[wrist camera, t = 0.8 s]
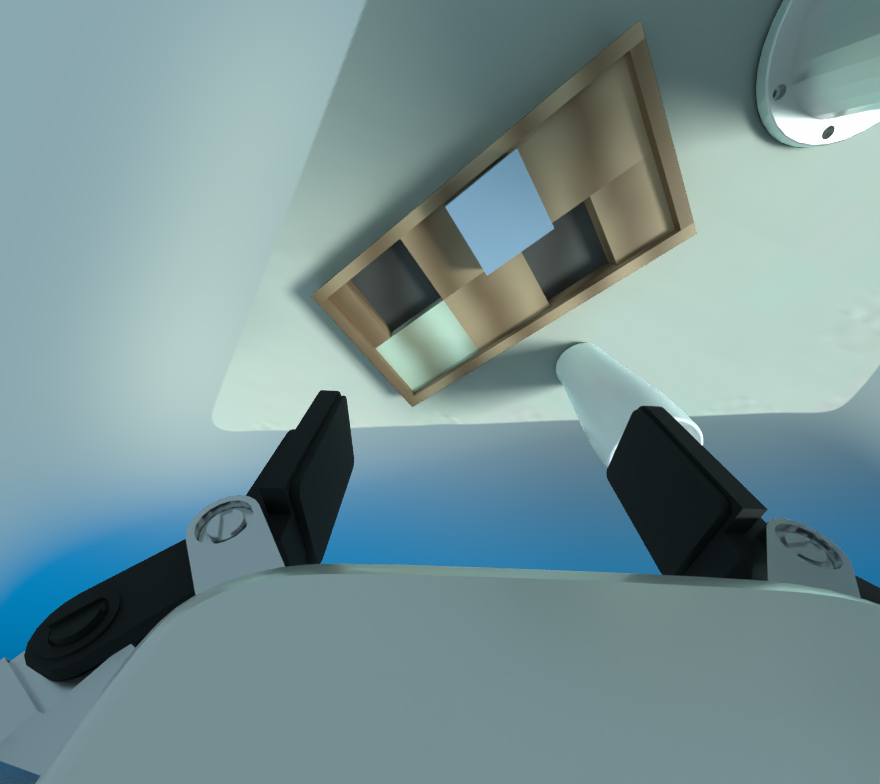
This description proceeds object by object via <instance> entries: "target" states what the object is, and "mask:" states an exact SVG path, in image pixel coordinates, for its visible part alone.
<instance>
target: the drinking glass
mask: <svg viewBox="0 0 880 784" xmlns="http://www.w3.org/2000/svg"><path fill="white" fill-rule="evenodd" d="M556 374H557V377H558V379H559V380H560V382H561V383H562V385H563V387H564V389H565V391H566V393H567V395H568V397H569V399H570V402H571V404H572V406H573V408H574V410H575V412H576V415H577V417H578V419H579V421H580V423H581V425H582V427H583V430H584V432H585V434H586V436H587V438H588V440H589V441H590V443H591V445H592V447H593V448H594V450H595V452H596V453H597V455H598V456H599V458H600V459H601V461H602V462H603V463H604V465H605V466H606V468H608V466H609V464H610V461H611V459H612V457H613V455H614V452H615V450H616V448H617V446H618V443H619V441H620V439H621V437H622V434H623V432H624V430H625V428H626V425H627V423H628V421H629V419H630V416H631V414H632V412H633V411H634V410H637V409H638V408H639V407H640V406H660V407H663V408H664V409H665V410H666V411H667V412H669V413H670V414H671V415H672V416H673V417H674V418H675V419H676V420H677V421H678V422H679V423H680V424H681V425H682V426H683V427H684V428H685V429H686V430H687V431H688V432H689V433H690V434H691V435H692V436H693V437H694V438H695V439H696V440H697V441H698V442H699V443H700V444H701V445H702V446H703V435H702V432H701V430H700V428H699V427H698V426H697V425H696V424H695V423H694V422H693V421H692V420H691V419H690V418H689V417H688V416H687V415H686V414H685V413H684V412H683V411H682V410H681V409H680V408H679V407H678V406H677V405H676V404H674V403H673V402H672V401H671V400H670V399H669V398H667V397H666V396H665V395H664V394H663V393H661V392H660V391H659V390H657V389H656V388H654V387H653V386H652V385H650V384H649V383H647V382H646V381H644V380H643V379H642V378H640V377H639V376H637V375H636V374H634V373H633V372H631V371H630V370H628V369H627V368H626V367H624V366H623V365H621V364H620V363H618V362H617V361H616V360H614V359H613V358H611V357H610V356H609V355H607V354H606V353H605V352H604V351H603V350H602V349H600V348H599V347H598V346H596V345H594V344H590V343H580V344H576V345H574V346H571V347H570V348H568V349H567V350H565V351H564V352H563V353H562V354H561V356H560V357H559V359H558V361H557V364H556Z"/></svg>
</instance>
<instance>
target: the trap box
mask: <svg viewBox="0 0 880 784" xmlns="http://www.w3.org/2000/svg"><path fill="white" fill-rule="evenodd" d="M516 149H517V150H518V152H519V154H520V156H521V158H522V160H523V162H524V165H525V167H526V169H527V171H528V173H529V175H530V177H531V179H532V182H533V184H534V186H535V188H536V190H537V192H538V194H539V197H540V199H541V201H542V203H543V205H544V207H545V209H546V212H547V214H548V216H549V218H550V220H551V222H552V224H553V226H554V229H553V230H552V231H550V232H549V233H547V234H546V235H545V236H543V237H542V238H540V239H539V240H537V241H536V242H535V243H533V244H532V245H530V246H529V247H527V248H526V249H525V250H523V251H522V252H520V253H519V254H517V255H516V256H515V257H513V258H512V259H510V260H509V261H508V262H506V263H505V264H503V265H502V266H500V267H499V268H498V269H496V270H495V271H493V272H492V273H490V274H489V275H488V276H487V275H486V273H485V272H484V270H483V268H482V267H481V265H480V264H479V262H478V260H477V259H476V257H475V255H474V254H473V252H472V250H471V249H470V247H469V245H468V244H467V242H466V240H465V239H464V237H463V236H462V234H461V232H460V231H459V229H458V227H457V226H456V224H455V222H454V221H453V219H452V217H451V216H450V214H449V212H448V211H447V209H446V208H445V205H447V204H448V203H449V202H450V201H452V200H453V199H454V198H455V197H456V196H458V195H459V194H460V193H461V192H463V191H464V190H465V189H466V188H467V187H469V186H470V185H471V184H472V183H474V182H475V181H476V180H477V179H479V178H480V177H481V176H482V175H483V174H485V173H486V172H487V171H488V170H490V169H491V168H492V167H493V166H494V165H496V164H497V163H498V162H499V161H501V160H502V159H503V158H504V157H506V156H507V155H508V154H509V153H511V152H512V151H514V150H516ZM695 234H697V232H696V228H695V225H694V221H693V217H692V213H691V209H690V206H689V202H688V198H687V194H686V191H685V187H684V183H683V179H682V175H681V172H680V168H679V164H678V160H677V156H676V153H675V149H674V145H673V141H672V137H671V134H670V130H669V126H668V122H667V119H666V115H665V111H664V107H663V103H662V100H661V96H660V92H659V88H658V84H657V81H656V77H655V73H654V69H653V65H652V62H651V58H650V54H649V50H648V47H647V43H646V39H645V35H644V31H643V28H642V24H641V20H639V21H638V22H636V23H635V24H634V25H633V26H632V27H631V28H629V29H628V30H627V31H626V32H625V33H623V34H622V35H621V36H620V37H619V38H617V39H616V40H615V41H614V42H613V43H612V44H610V45H609V46H608V47H607V48H606V49H604V50H603V51H602V52H601V53H600V54H598V55H597V56H596V57H595V58H594V59H592V60H591V61H590V62H589V63H588V64H587V65H585V66H584V67H583V68H582V69H581V70H579V71H578V72H577V73H576V74H575V75H573V76H572V77H571V78H570V79H569V80H567V81H566V82H565V83H564V84H563V85H562V86H560V87H559V88H558V89H557V90H556V91H554V92H553V93H552V94H551V95H550V96H548V97H547V98H546V99H545V100H544V101H543V102H541V103H540V104H539V105H538V106H537V107H535V108H534V109H533V110H532V111H531V112H529V113H528V114H527V115H526V116H525V117H523V118H522V119H521V120H520V121H519V122H518V123H516V124H515V125H514V126H513V127H512V128H510V129H509V130H508V131H507V132H506V133H504V134H503V135H502V136H501V137H500V138H498V139H497V140H496V141H495V142H494V143H493V144H491V145H490V146H489V147H488V148H487V149H485V150H484V151H483V152H482V153H481V154H479V155H478V156H477V157H476V158H475V159H474V160H472V161H471V162H470V163H469V164H468V165H466V166H465V167H464V168H463V169H462V170H460V171H459V172H458V173H457V174H456V175H454V176H453V177H452V178H451V179H450V180H449V181H447V182H446V183H445V184H444V185H443V186H441V187H440V188H439V189H438V190H437V191H435V192H434V193H433V194H432V195H431V196H429V197H428V198H427V199H426V200H425V201H424V202H422V203H421V204H420V205H419V206H418V207H416V208H415V209H414V210H413V211H412V212H410V213H409V214H408V215H407V216H406V217H405V218H403V219H402V220H401V221H400V222H399V223H397V224H396V225H395V226H394V227H393V228H391V229H390V230H389V231H388V232H387V233H385V234H384V235H383V236H382V237H381V238H380V239H378V240H377V241H376V242H375V243H374V244H372V245H371V246H370V247H369V248H368V249H366V250H365V251H364V252H363V253H362V254H361V255H359V256H358V257H357V258H356V259H355V260H353V261H352V262H351V263H350V264H349V265H347V266H346V267H345V268H344V269H343V270H341V271H340V272H339V273H338V274H337V275H336V276H334V277H333V278H332V279H331V280H330V281H328V282H327V283H326V284H325V285H324V286H322V287H321V288H320V289H319V290H318V291H316V292H315V293H314V294H313V295H312V297H313V298H314V299H315V301H316V302H317V303H318V304H319V305H320V306H321V307H322V308H323V309H324V310H325V312H326V313H327V314H328V315H329V316H330V317H331V318H332V319H333V320H334V321H335V323H336V324H337V325H338V326H339V327H340V328H341V329H342V330H343V331H344V332H345V334H346V335H347V336H348V337H349V338H350V339H351V340H352V341H353V342H354V343H355V345H356V346H357V347H358V348H359V349H360V350H361V351H362V352H363V353H364V354H365V356H366V357H367V358H368V359H369V360H370V361H371V362H372V363H373V364H374V365H375V367H376V368H377V369H378V370H379V371H380V372H381V373H382V374H383V375H384V376H385V378H386V379H387V380H388V381H389V382H390V383H391V384H392V385H393V386H394V387H395V389H396V390H397V391H398V392H399V393H400V394H401V395H402V396H403V397H404V398H405V400H406V401H407V402H408V403H409V404H410V405H411V406H412V407H413V406H415V405H416V404H418V403H420V402H421V401H423V400H425V399H426V398H428V397H430V396H431V395H433V394H434V393H436V392H438V391H439V390H441V389H443V388H444V387H446V386H448V385H449V384H451V383H453V382H454V381H456V380H457V379H459V378H461V377H462V376H464V375H466V374H467V373H469V372H471V371H472V370H474V369H475V368H477V367H479V366H480V365H482V364H484V363H485V362H487V361H489V360H490V359H492V358H494V357H495V356H497V355H498V354H500V353H502V352H503V351H505V350H507V349H508V348H510V347H512V346H513V345H515V344H516V343H518V342H520V341H521V340H523V339H525V338H526V337H528V336H530V335H531V334H533V333H535V332H536V331H538V330H539V329H541V328H543V327H544V326H546V325H548V324H549V323H551V322H553V321H554V320H556V319H557V318H559V317H561V316H562V315H564V314H566V313H567V312H569V311H571V310H572V309H574V308H576V307H577V306H579V305H580V304H582V303H584V302H585V301H587V300H589V299H590V298H592V297H594V296H595V295H597V294H598V293H600V292H602V291H603V290H605V289H607V288H608V287H610V286H612V285H613V284H615V283H617V282H618V281H620V280H621V279H623V278H625V277H626V276H628V275H630V274H631V273H633V272H635V271H636V270H638V269H639V268H641V267H643V266H644V265H646V264H648V263H649V262H651V261H653V260H654V259H656V258H658V257H659V256H661V255H662V254H664V253H666V252H667V251H669V250H671V249H672V248H674V247H676V246H677V245H679V244H680V243H682V242H684V241H685V240H687V239H689V238H690V237H692V236H694V235H695Z"/></svg>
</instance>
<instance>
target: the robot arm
mask: <svg viewBox="0 0 880 784" xmlns="http://www.w3.org/2000/svg"><path fill="white" fill-rule="evenodd" d="M756 96H757V107H758V111H759V114H760V117H761V120H762V123H763V124H764V126H765V127H766V129H767V130H768V132H769V133H770V134H771V135H772V136H773V137H775V138H776V139H777V140H779V141H780V142H782V143H785V144H787V145H790V146H793V147H815V146H823V145H828V144H832V143H836V142H840V141H843V140H845V139H848V138H850V137H852V136H854V135H857V134H859V133H861V132H863V131H864V130H866V129H868V128H869V127H871V126H873V125H874V124H876V123H878V122H879V121H880V0H783V2H782V4H781V6H780V8H779V10H778V12H777V14H776V16H775V18H774V20H773V22H772V24H771V27H770V29H769V32H768V35H767V37H766V40H765V43H764V46H763V49H762V53H761V58H760V62H759V66H758V71H757V83H756ZM353 466H354V455H353V446H352V438H351V430H350V422H349V414H348V406H347V399H346V396H341V394H340V392H339V391H325V390H321V391H320V392H319V393H318V395H317V396H316V398H315V399H314V401H313V403H312V404H311V406H310V407H309V409H308V410H307V412H306V414H305V415H304V417H303V418H302V420H301V422H300V423H299V425H298V426H297V428H296V429H295V430H294V429H292V430H290V431H289V432H288V433H287V434H286V436H285V437H284V438H283V440H282V441H281V443H280V445H279V446H278V448H277V449H276V451H275V452H274V454H273V455H272V457H271V458H270V460H269V461H268V463H267V464H266V466H265V467H264V469H263V471H262V472H261V474H260V475H259V476H258V478H257V480H256V481H255V483H254V484H253V486H252V487H251V489H250V490H249V492H248V493H247V495H246V496H242V495H238V496H230V497H227V498H223V499H220V500H218V501H216V502H214V503H212V504H210V505H208V506H207V507H206V508H204V509H203V510H202V511H200V512H199V513H198V514H197V515H196V516H195V517H194V519H193V520H192V521H191V522H190V524H189V526H188V529H187V530H186V539H185V540H183V541H181V542H179V543H177V544H175V545H173V546H171V547H169V548H167V549H165V550H164V551H162V552H159V553H158V554H156V555H154V556H152V557H150V558H148V559H146V560H144V561H142V562H140V563H138V564H136V565H134V566H132V567H130V568H128V569H127V570H125V571H123V572H121V573H119V574H117V575H115V576H113V577H111V578H109V579H107V580H105V581H103V582H101V583H99V584H97V585H96V586H94V587H92V588H90V589H88V590H86V591H84V592H82V593H80V594H78V595H77V596H75V597H74V598H72V599H70V600H69V601H67V602H65V603H64V604H63V605H61V606H60V607H59V608H58V609H56V610H55V611H54V612H53V613H52V614H50V615H49V616H48V617H47V619H45V621H44V622H43V623H42V624H41V625H40V626H39V627H38V628H37V629H36V631H35V632H34V634H33V635H32V637H31V639H30V640H29V642H28V644H27V647H26V650H25V651H24V652H23V653H21V654H20V655H19V656H17V657H16V658H14V659H13V660H12V661H10V660H8V659H6V658H3V659H2V660H0V784H880V588H879V587H877V586H875V585H872V584H871V583H869V582H867V581H865V580H863V579H861V578H859V577H857V576H855V574H854V570H853V567H852V564H851V562H850V560H849V558H848V557H847V556H846V555H845V554H844V552H843V551H842V550H841V549H840V548H839V547H838V546H836V545H835V544H834V543H833V542H832V541H830V540H829V539H828V538H826V537H824V536H823V535H822V534H820V533H819V532H817V531H815V530H813V529H811V528H809V527H807V526H805V525H803V524H800V523H798V522H795V521H792V520H787V519H782V518H780V519H779V518H778V519H772V520H770V521H768V522H767V523H765V521H763V519H761V516H762V515H763V514H764V513H765V512H766V511H767V508H765V507H764V506H763V505H762V504H761V503H760V502H759V501H758V500H757V499H756V498H755V497H754V496H753V495H752V494H751V493H750V492H749V491H748V490H747V489H746V488H745V487H744V486H743V485H742V484H741V483H740V482H739V481H738V480H737V479H736V478H735V477H734V476H733V475H732V474H731V473H730V472H729V471H728V470H727V469H726V468H725V467H723V465H722V464H721V463H720V462H719V461H717V460H716V459H715V458H714V457H713V456H712V455H711V454H710V453H709V452H708V451H707V450H706V449H705V448H704V447H703V446H702V445H701V444H700V443H699V442H698V441H697V440H696V439H695V438H694V437H693V436H692V435H691V434H690V433H689V432H688V431H687V430H686V429H685V428H684V427H683V426H682V425H681V424H680V423H679V422H678V421H677V420H676V419H675V418H674V417H673V416H672V415H671V414H670V413H669V412H667V411H666V410H665V409H664V408H663V407H660V406H640V407H639V408H638V409H637V410H634V411H633V412H632V414H631V416H630V419H629V421H628V423H627V425H626V428H625V430H624V432H623V434H622V437H621V439H620V441H619V443H618V446H617V448H616V450H615V452H614V455H613V457H612V459H611V461H610V464H609V466H608V468H607V478H608V481H609V482H610V484H611V486H612V488H613V489H614V491H615V493H616V495H617V497H618V498H619V500H620V502H621V503H622V505H623V507H624V508H625V511H626V512H627V514H628V516H629V517H630V519H631V521H632V523H633V524H634V526H635V528H636V530H637V532H638V533H639V535H640V537H641V539H642V540H643V542H644V544H645V546H646V548H647V549H648V551H649V553H650V555H651V556H652V558H653V560H654V562H655V563H656V565H657V567H658V569H659V570H660V572H661V573H662V575H649V574H628V573H606V572H582V571H556V570H555V571H554V570H532V569H531V570H530V569H506V568H478V567H450V566H449V567H448V566H421V565H384V564H320V563H321V561H322V559H323V556H324V553H325V550H326V547H327V544H328V541H329V538H330V535H331V532H332V529H333V526H334V523H335V520H336V518H337V514H338V512H339V508H340V505H341V503H342V500H343V497H344V494H345V491H346V488H347V484H348V482H349V479H350V476H351V473H352V470H353Z"/></svg>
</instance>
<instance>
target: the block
mask: <svg viewBox="0 0 880 784" xmlns="http://www.w3.org/2000/svg"><path fill="white" fill-rule="evenodd" d="M445 208H446V209H447V211H448V212H449V214H450V216H451V217H452V219H453V221H454V222H455V224H456V226H457V227H458V229H459V231H460V232H461V234H462V236H463V237H464V239H465V240H466V242H467V244H468V245H469V247H470V249H471V250H472V252H473V254H474V255H475V257H476V259H477V260H478V262H479V264H480V265H481V267H482V268H483V270H484V272H485V273H486V275H487V276H488V275H489V274H490V273H492V272H493V271H495V270H496V269H498V268H499V267H500V266H502V265H503V264H505V263H506V262H508V261H509V260H510V259H512V258H513V257H515V256H516V255H517V254H519V253H520V252H522V251H523V250H525V249H526V248H527V247H529V246H530V245H532V244H533V243H535V242H536V241H537V240H539V239H540V238H542V237H543V236H545V235H546V234H547V233H549V232H550V231H552V230H553V229H554V226H553V224H552V222H551V220H550V218H549V216H548V214H547V212H546V209H545V207H544V205H543V203H542V201H541V199H540V197H539V194H538V192H537V190H536V188H535V186H534V184H533V182H532V179H531V177H530V175H529V173H528V171H527V169H526V167H525V165H524V162H523V160H522V158H521V156H520V154H519V152H518V150H517V149H516V150H514V151H512V152H511V153H509V154H508V155H507V156H506V157H504V158H503V159H502V160H501V161H499V162H498V163H497V164H496V165H494V166H493V167H492V168H491V169H490V170H488V171H487V172H486V173H485V174H483V175H482V176H481V177H480V178H479V179H477V180H476V181H475V182H474V183H472V184H471V185H470V186H469V187H467V188H466V189H465V190H464V191H463V192H461V193H460V194H459V195H458V196H456V197H455V198H454V199H453V200H452V201H450V202H449V203H448V204H447V205H445Z"/></svg>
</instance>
